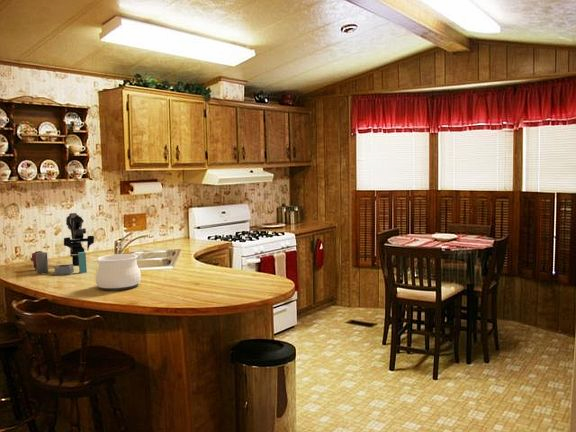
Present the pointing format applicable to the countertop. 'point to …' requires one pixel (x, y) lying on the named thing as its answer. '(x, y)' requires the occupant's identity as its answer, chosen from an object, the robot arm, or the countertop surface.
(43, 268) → the round bit
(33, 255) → the mechanical component
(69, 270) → the block
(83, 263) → the square bit
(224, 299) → the countertop surface
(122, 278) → the pot
